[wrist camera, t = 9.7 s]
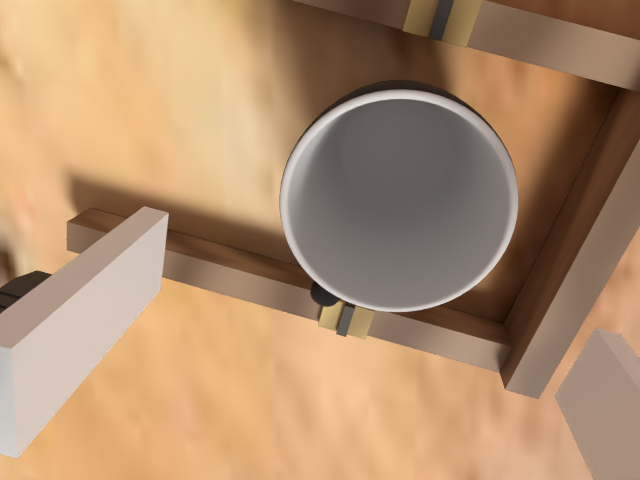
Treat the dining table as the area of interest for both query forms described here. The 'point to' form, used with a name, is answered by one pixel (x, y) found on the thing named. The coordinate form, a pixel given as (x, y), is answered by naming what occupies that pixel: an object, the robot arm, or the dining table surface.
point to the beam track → (556, 253)
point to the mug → (398, 198)
